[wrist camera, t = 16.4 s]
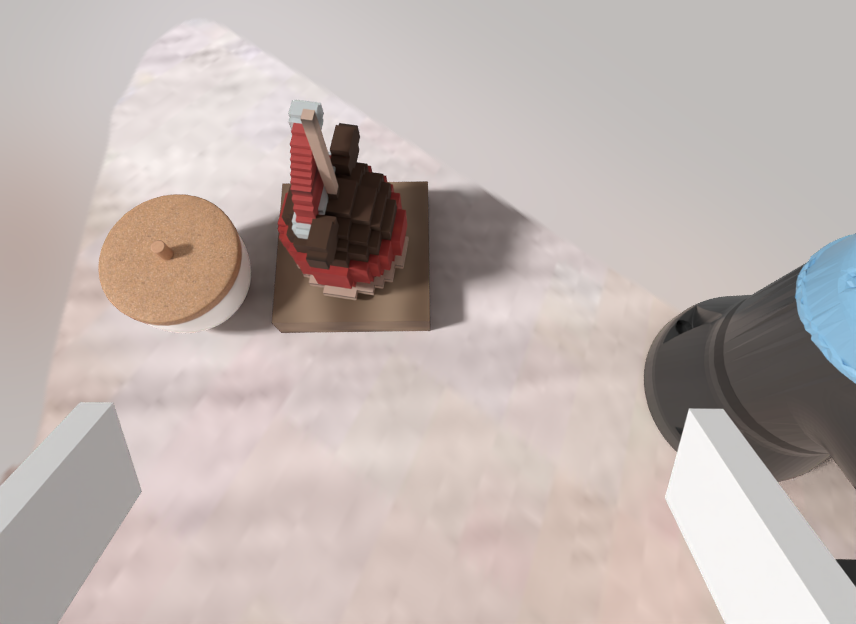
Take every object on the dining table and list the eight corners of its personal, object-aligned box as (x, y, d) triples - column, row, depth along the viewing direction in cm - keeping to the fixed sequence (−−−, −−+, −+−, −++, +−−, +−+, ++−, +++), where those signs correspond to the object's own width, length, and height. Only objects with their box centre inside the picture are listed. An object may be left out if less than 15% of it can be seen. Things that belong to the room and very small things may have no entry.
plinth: (428, 198, 52) (427, 181, 49) (429, 330, 48) (429, 320, 45) (290, 200, 52) (282, 183, 49) (281, 332, 48) (271, 323, 46)
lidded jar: (122, 294, 50) (54, 251, 41) (212, 214, 52) (166, 157, 43) (201, 373, 47) (147, 346, 38) (291, 285, 50) (260, 240, 41)
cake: (395, 316, 46) (372, 212, 28) (285, 299, 46) (197, 187, 29) (416, 202, 49) (408, 47, 32) (313, 187, 49) (249, 27, 32)
